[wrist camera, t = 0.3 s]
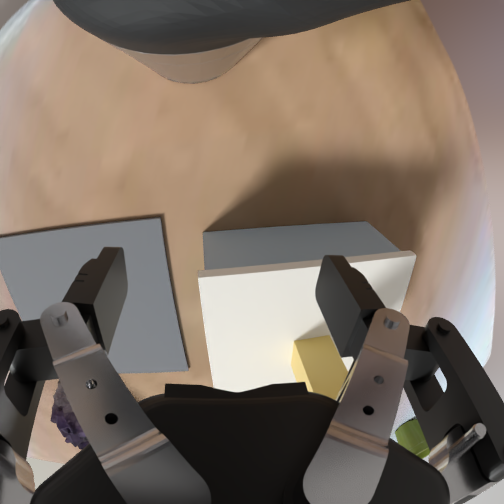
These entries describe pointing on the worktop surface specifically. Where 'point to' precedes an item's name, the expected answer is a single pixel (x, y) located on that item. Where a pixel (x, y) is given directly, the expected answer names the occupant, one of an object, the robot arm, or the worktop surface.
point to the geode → (67, 420)
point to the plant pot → (412, 438)
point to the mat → (138, 295)
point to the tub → (291, 244)
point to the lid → (285, 321)
